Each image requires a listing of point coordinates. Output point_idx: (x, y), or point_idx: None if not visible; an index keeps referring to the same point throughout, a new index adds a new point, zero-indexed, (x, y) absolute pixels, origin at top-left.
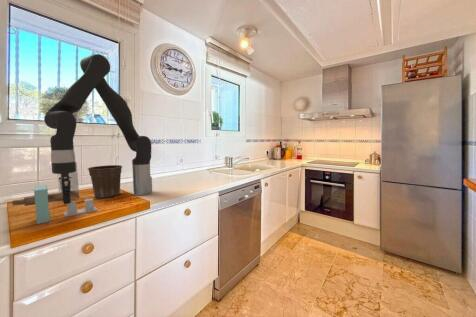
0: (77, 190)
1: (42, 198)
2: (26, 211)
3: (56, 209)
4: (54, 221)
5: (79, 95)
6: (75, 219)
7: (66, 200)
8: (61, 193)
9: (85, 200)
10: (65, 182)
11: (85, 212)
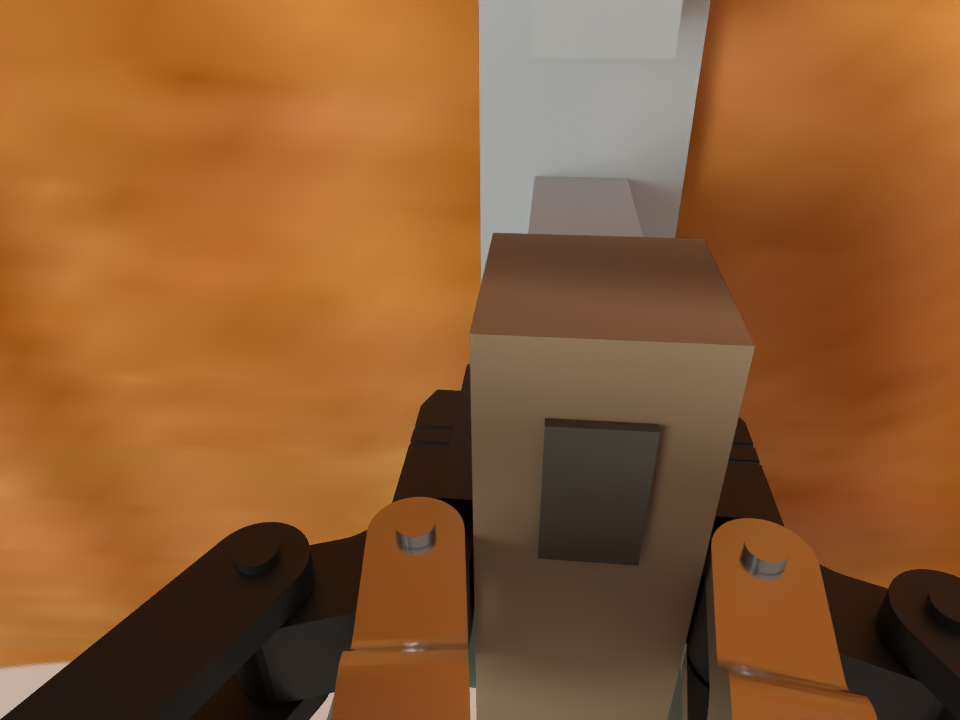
0: (536, 354)
1: None
2: (77, 587)
3: (145, 373)
4: (763, 435)
5: None
6: (953, 224)
7: None
8: (655, 682)
9: (653, 42)
10: None
11: (703, 34)
